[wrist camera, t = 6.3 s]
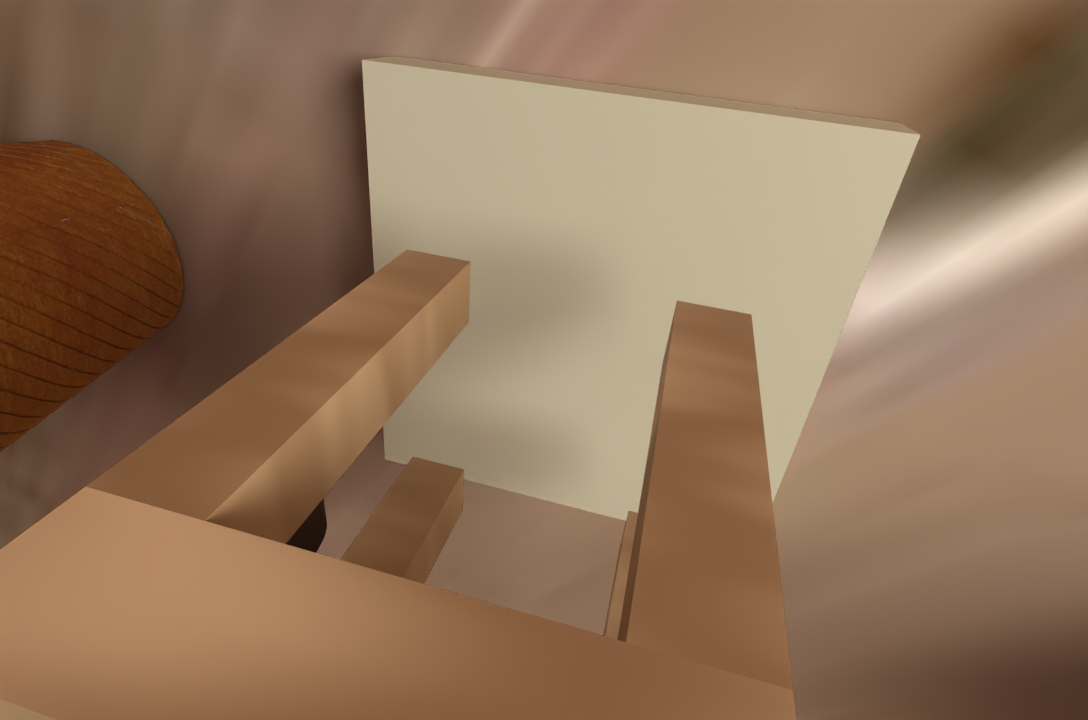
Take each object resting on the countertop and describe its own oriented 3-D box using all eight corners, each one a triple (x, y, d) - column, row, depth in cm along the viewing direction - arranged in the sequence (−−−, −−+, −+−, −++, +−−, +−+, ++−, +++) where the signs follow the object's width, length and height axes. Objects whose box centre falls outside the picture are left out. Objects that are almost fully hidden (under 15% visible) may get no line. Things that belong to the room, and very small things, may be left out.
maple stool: (751, 314, 10) (827, 1004, 3) (674, 565, 13) (624, 1179, 6) (407, 249, 11) (-134, 648, 4) (414, 496, 14) (119, 957, 7)
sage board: (899, 122, 12) (920, 134, 11) (749, 514, 18) (752, 553, 16) (394, 56, 14) (361, 59, 13) (406, 430, 19) (384, 459, 18)
